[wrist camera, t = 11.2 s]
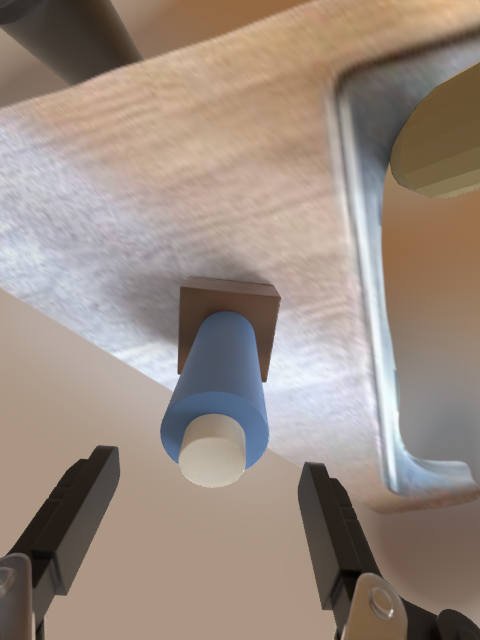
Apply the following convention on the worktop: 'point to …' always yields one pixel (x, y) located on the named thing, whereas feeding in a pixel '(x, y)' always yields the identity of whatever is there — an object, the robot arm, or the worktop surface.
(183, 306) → the walnut block
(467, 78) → the squeeze bottle
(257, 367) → the blue bottle
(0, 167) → the worktop surface
